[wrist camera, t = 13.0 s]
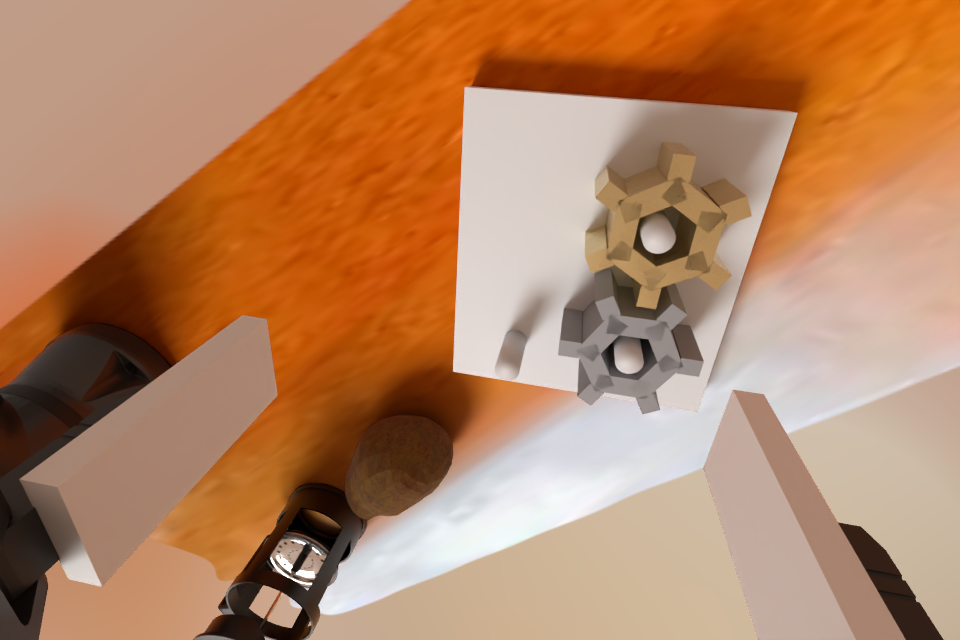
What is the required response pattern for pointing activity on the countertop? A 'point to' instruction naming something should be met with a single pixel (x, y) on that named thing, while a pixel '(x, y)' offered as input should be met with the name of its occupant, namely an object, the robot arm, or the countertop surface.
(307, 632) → the french press
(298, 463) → the countertop surface
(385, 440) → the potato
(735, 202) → the brass gear
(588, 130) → the gear board
